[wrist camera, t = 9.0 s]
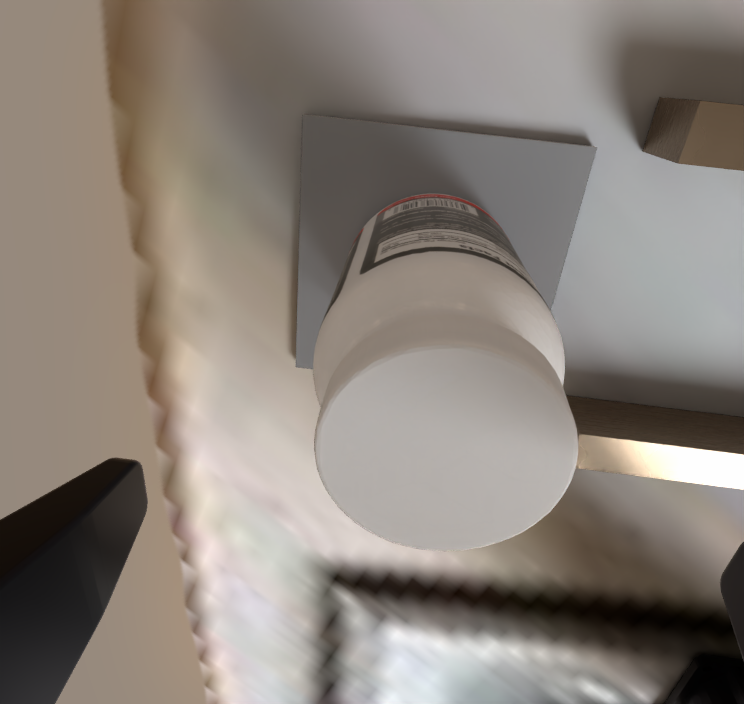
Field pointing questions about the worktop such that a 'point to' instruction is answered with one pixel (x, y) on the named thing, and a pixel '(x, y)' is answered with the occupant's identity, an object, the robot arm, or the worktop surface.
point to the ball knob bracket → (657, 424)
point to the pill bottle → (441, 382)
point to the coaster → (428, 176)
